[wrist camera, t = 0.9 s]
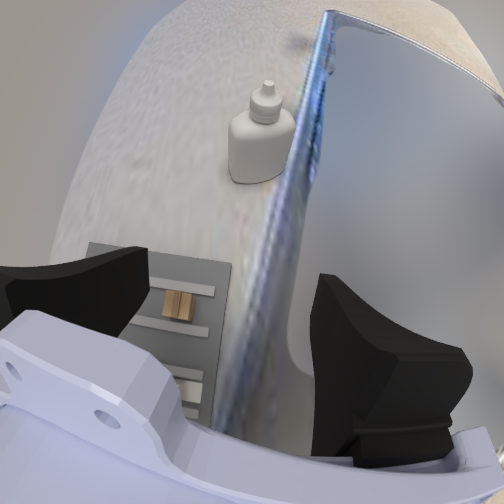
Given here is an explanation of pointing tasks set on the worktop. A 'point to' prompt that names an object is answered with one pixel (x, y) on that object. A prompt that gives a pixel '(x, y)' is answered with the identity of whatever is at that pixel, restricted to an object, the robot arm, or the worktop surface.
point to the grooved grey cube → (180, 386)
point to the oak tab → (179, 305)
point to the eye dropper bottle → (260, 137)
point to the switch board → (182, 324)
